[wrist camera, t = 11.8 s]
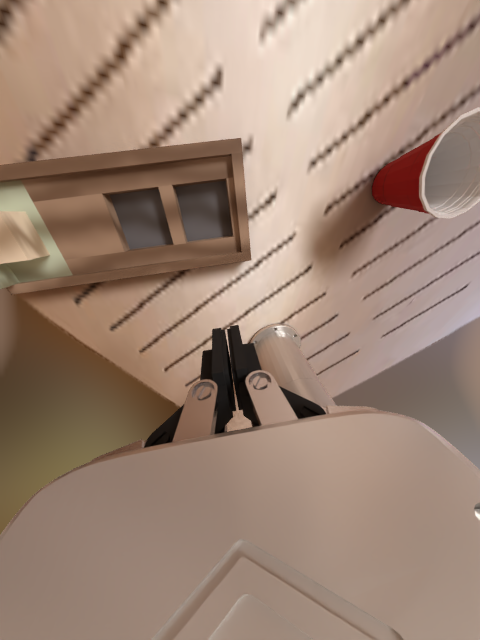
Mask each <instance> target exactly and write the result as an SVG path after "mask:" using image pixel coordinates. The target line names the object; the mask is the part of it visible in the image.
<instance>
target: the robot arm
mask: <svg viewBox="0 0 480 640" xmlns="http://www.w3.org/2000/svg"><path fill="white" fill-rule="evenodd" d="M227 332H228V341H229V350H230V357H229V351H228V345H227V340H226V334H225V330H221V328H217V329H213V330H212V350H206V351H203V355H202V367H201V378H200V381H198V382H196V383H195V384H193V385H192V387H191V388H190V390H189V392H188V395H187V398H186V401H185V404H184V405H183V406H182V407H181V408H180V409H178V410H177V411H176V412H175V413H174V414H173V415H172V416H171V417H170V418H169V419H168V420H166V421H165V422H164V423H163V424H162V425H161V426H160V427H159V428H158V429H156V430H155V431H154V432H153V433H152V434H151V435H150V437H149V438H148V439H147V440H145V441H143V440H142V439H141V440H139V441H136V442H134V443H131V444H129V445H126V446H124V447H121V448H119V449H116V450H114V451H111V452H109V453H106V454H104V455H101V456H99V457H97V458H95V459H93V460H92V461H91V462H88V463H86V464H84V465H81V466H79V467H77V468H74V469H73V470H71V471H69V472H67V473H65V474H63V475H61V476H59V477H58V478H56V479H54V480H53V481H51V482H50V483H48V484H47V485H45V486H44V487H43V488H41V489H40V490H39V491H38V492H36V493H35V494H34V495H33V496H32V497H31V498H30V499H29V500H28V501H27V502H26V503H25V504H24V505H23V507H22V508H21V509H20V510H19V511H18V512H17V514H16V515H15V516H14V517H13V519H12V520H11V521H10V523H9V524H8V525H7V527H6V528H5V529H4V531H3V532H2V533H1V535H0V640H480V470H479V469H478V468H477V467H476V466H475V465H474V464H473V463H471V462H470V461H469V460H468V459H467V458H466V457H465V456H464V455H463V454H462V453H461V452H459V451H458V450H457V449H456V448H455V447H454V446H453V445H451V444H450V443H449V442H448V441H447V440H445V439H444V438H443V437H442V436H441V435H439V434H438V433H437V432H435V431H434V430H433V429H431V428H430V427H428V426H427V425H425V424H423V423H422V422H420V421H418V420H416V419H413V418H411V417H408V416H404V415H401V414H397V413H391V412H385V411H380V410H377V409H375V408H372V407H360V406H359V407H358V406H336V404H335V403H334V402H333V400H332V398H331V397H330V395H329V394H328V392H327V391H326V389H325V388H324V386H323V384H322V383H321V381H320V380H319V378H318V377H317V375H316V373H315V372H314V370H313V369H312V367H311V366H310V364H309V363H308V361H307V359H306V358H305V356H304V355H303V353H302V352H301V350H300V346H301V340H300V336H299V335H298V333H297V332H296V331H295V329H293V328H292V327H290V326H288V325H284V324H273V325H269V326H266V327H264V328H262V329H261V330H259V331H258V332H257V333H256V334H255V335H254V337H253V338H252V340H251V342H250V343H248V344H242V340H241V335H240V331H239V326H238V325H236V326H230V329H227ZM230 359H231V362H230ZM231 368H232V370H231ZM232 374H233V379H232ZM233 380H234V385H235V391H236V396H237V402H238V407H239V410H242V409H243V415H244V416H245V417H246V418H248V419H249V420H251V424H252V428H246V429H241V430H235V431H230V432H227V423H228V422H229V421H230V419H231V418H233V412H232V411H236V406H235V397H234V388H233Z"/></svg>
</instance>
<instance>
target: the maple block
mask: <svg viewBox="0 0 480 640" xmlns="http://www.w3.org/2000/svg"><path fill="white" fill-rule="evenodd" d="M48 255H50V254H49V252H48V250H47V248H46V247H45V245H44V243H43V241H42V240H41V238H40V236H39V234H38V233H37V231H36V229H35V227H34V226H33V224H32V222H31V220H30V219H29V217H28V215H27V214H26V212H20V211H0V264H3V263H11V262H19V261H26V260H32V259H36V258H40V257H44V256H48Z"/></svg>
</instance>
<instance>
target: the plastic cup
mask: <svg viewBox="0 0 480 640" xmlns="http://www.w3.org/2000/svg"><path fill="white" fill-rule="evenodd" d="M372 195H373V197H374V199H375V200H376V201H377V202H379V203H381V204H386V205H391V206H393V207H399V208H405V209H410V210H416V211H419V212H424V213H429V214H431V215H432V216H434V217H436V218H453V217H455V216H458V215H460V214H462V213H465V212H467V211H468V210H469V209H470V208H472V207H473V206H474V205H475V204H476V203H478V202H479V201H480V107H479V108H476V109H474V110H472V111H470V112H468V113H465V114H463V115H461V116H460V117H458V118H457V119H456V120H455V121H454V122H453V123H452V124H451V125H450V126H449V127H447V128H446V129H445V130H444V131H443V132H442V133H440V134H439V135H437V136H435V137H434V138H433V139H431V140H430V141H428V142H426V143H424V144H422V145H421V146H419V147H417V148H415V149H413V150H412V151H410V152H408V153H406V154H404V155H403V156H401V157H400V158H398V159H397V160H395V161H393V162H391V163H389V164H387V165H386V166H385V167H384V168H382V169H381V170H380V171H379V172H378V174H377V176H376V177H375V179H374V182H373V186H372Z"/></svg>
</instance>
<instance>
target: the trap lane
mask: <svg viewBox="0 0 480 640" xmlns="http://www.w3.org/2000/svg"><path fill="white" fill-rule="evenodd" d="M0 211H20V212H26V214H27V215H28V217H29V219H30V220H31V222H32V224H33V226H34V227H35V229H36V231H37V233H38V234H39V236H40V238H41V240H42V241H43V243H44V245H45V247H46V248H47V250H48V252H49V254H50V255H48V256H44V257H40V258H36V259H32V260H26V261H19V262H11V263H3V264H0V289H3V288H7V289H8V291H9V292H10V293H11V295H12V294H19V293H26V292H33V291H40V290H47V289H54V288H61V287H68V286H75V285H82V284H89V283H96V282H103V281H110V280H117V279H124V278H131V277H138V276H145V275H152V274H159V273H166V272H172V271H179V270H186V269H193V268H200V267H207V266H214V265H221V264H228V263H235V262H242V261H249V260H251V251H250V239H249V227H248V215H247V203H246V191H245V179H244V167H243V155H242V143H241V138H236V139H227V140H218V141H209V142H201V143H192V144H183V145H174V146H165V147H156V148H147V149H138V150H130V151H121V152H112V153H103V154H94V155H85V156H76V157H67V158H59V159H50V160H41V161H32V162H23V163H14V164H5V165H0Z"/></svg>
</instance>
